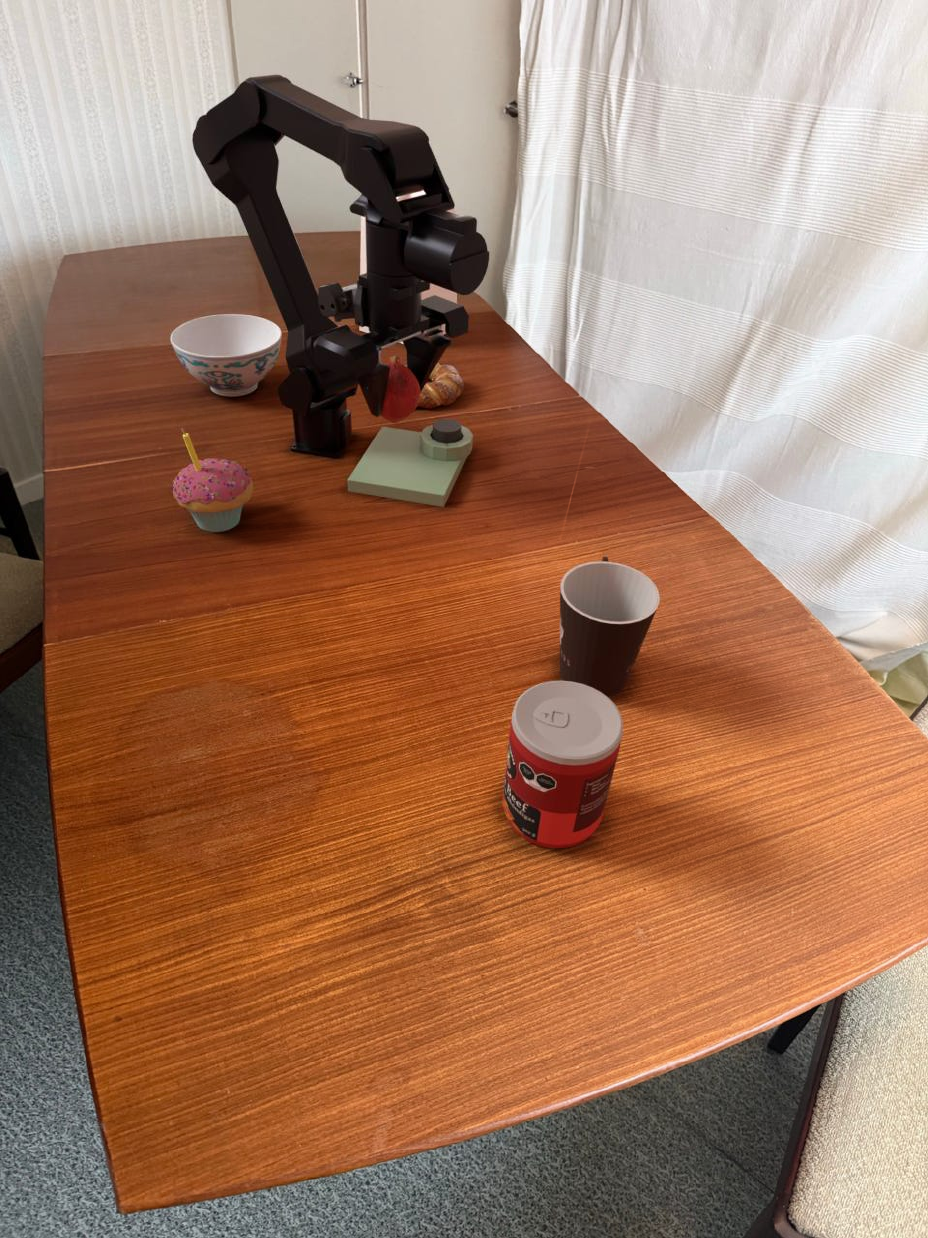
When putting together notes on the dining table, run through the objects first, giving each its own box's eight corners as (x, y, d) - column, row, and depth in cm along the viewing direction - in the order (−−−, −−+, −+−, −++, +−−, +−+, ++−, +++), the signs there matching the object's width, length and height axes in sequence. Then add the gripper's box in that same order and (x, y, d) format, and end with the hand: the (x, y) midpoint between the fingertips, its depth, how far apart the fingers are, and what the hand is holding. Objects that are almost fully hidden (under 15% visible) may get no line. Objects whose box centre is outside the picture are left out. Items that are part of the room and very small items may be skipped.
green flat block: (347, 491, 101) (346, 466, 98) (383, 436, 111) (382, 412, 109) (449, 508, 99) (450, 483, 96) (475, 451, 109) (477, 426, 107)
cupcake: (190, 549, 90) (169, 451, 83) (172, 509, 96) (151, 414, 88) (266, 530, 94) (253, 434, 86) (245, 493, 99) (231, 400, 91)
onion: (424, 432, 96) (426, 366, 90) (375, 436, 94) (374, 369, 89) (413, 408, 100) (413, 344, 95) (366, 412, 99) (363, 347, 93)
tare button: (429, 442, 104) (429, 429, 103) (436, 429, 107) (436, 416, 106) (457, 446, 104) (457, 433, 103) (463, 433, 106) (464, 420, 105)
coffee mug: (616, 720, 74) (636, 637, 67) (531, 682, 77) (542, 599, 71) (664, 647, 82) (686, 566, 75) (585, 615, 85) (600, 534, 78)
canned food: (496, 774, 69) (505, 680, 62) (590, 770, 70) (611, 677, 62) (507, 854, 63) (519, 761, 56) (610, 849, 64) (635, 757, 57)
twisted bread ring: (415, 420, 115) (416, 395, 112) (369, 392, 121) (368, 367, 119) (480, 397, 121) (481, 373, 119) (432, 371, 127) (432, 347, 125)
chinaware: (158, 396, 117) (147, 343, 112) (220, 357, 128) (212, 306, 123) (249, 419, 113) (242, 365, 108) (305, 376, 124) (301, 325, 119)
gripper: (401, 230, 95) (401, 361, 105) (272, 267, 84) (286, 408, 94) (475, 255, 90) (467, 390, 100) (348, 297, 79) (354, 444, 89)
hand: (395, 406), depth 96 cm, fingers closed on onion, 6 cm apart
